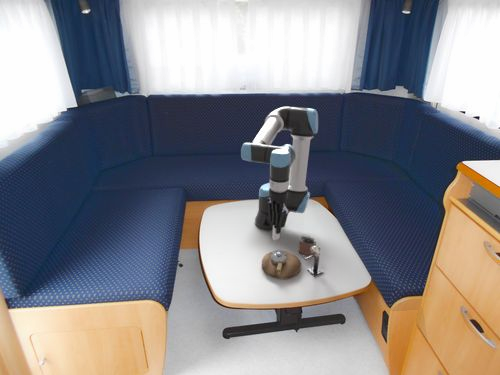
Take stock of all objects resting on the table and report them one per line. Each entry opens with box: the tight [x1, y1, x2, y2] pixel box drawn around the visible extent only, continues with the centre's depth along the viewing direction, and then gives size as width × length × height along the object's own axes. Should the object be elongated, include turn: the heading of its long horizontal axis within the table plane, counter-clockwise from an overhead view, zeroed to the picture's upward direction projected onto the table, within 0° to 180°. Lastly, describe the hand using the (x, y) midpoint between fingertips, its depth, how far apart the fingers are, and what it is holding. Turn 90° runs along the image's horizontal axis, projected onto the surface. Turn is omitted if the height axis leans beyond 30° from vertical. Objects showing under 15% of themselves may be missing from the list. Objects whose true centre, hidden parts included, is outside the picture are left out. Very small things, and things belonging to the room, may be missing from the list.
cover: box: [271, 249, 287, 266], centre depth 159 cm, size 7×7×5 cm
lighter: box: [297, 235, 317, 257], centre depth 167 cm, size 8×3×10 cm, turn 71°
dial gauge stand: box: [304, 245, 324, 278], centre depth 154 cm, size 5×8×14 cm, turn 123°
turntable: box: [261, 250, 302, 280], centre depth 159 cm, size 18×18×5 cm
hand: (275, 238), depth 147 cm, fingers closed
